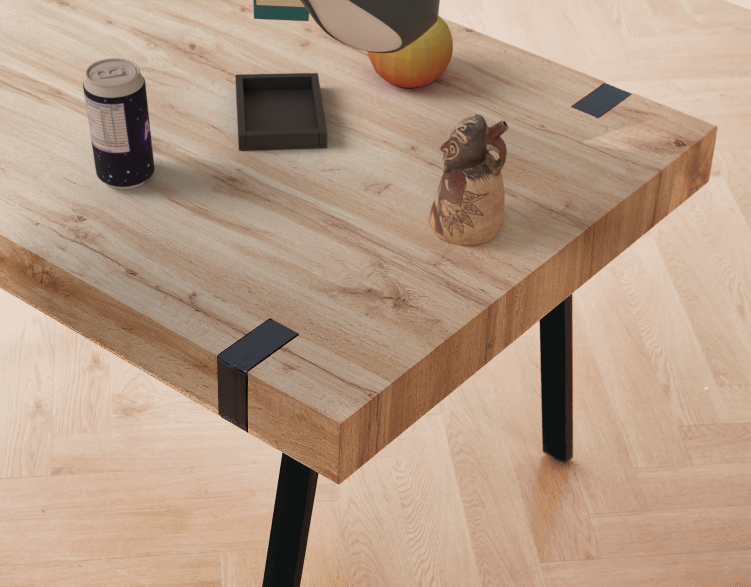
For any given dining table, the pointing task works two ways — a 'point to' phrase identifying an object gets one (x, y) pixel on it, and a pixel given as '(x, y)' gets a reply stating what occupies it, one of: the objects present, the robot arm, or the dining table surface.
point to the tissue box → (280, 10)
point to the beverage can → (119, 123)
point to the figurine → (471, 184)
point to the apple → (417, 58)
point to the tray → (280, 111)
